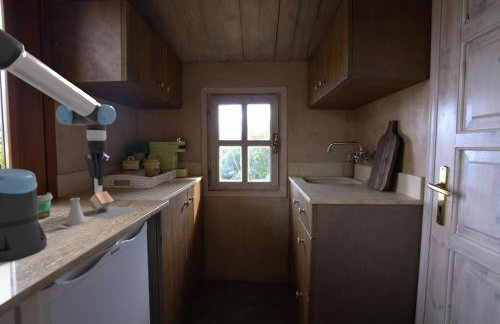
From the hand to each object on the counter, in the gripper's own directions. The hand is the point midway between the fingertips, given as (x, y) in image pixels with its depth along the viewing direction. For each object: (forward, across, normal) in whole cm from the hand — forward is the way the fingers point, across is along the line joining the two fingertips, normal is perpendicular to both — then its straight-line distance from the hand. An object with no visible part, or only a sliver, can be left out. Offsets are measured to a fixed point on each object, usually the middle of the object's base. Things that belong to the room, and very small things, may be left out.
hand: (98, 192), depth 115 cm
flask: (+9, -7, +16) cm, 20 cm away
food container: (+9, +12, +17) cm, 22 cm away
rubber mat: (+9, -4, 0) cm, 10 cm away
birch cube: (+6, +1, 0) cm, 6 cm away
